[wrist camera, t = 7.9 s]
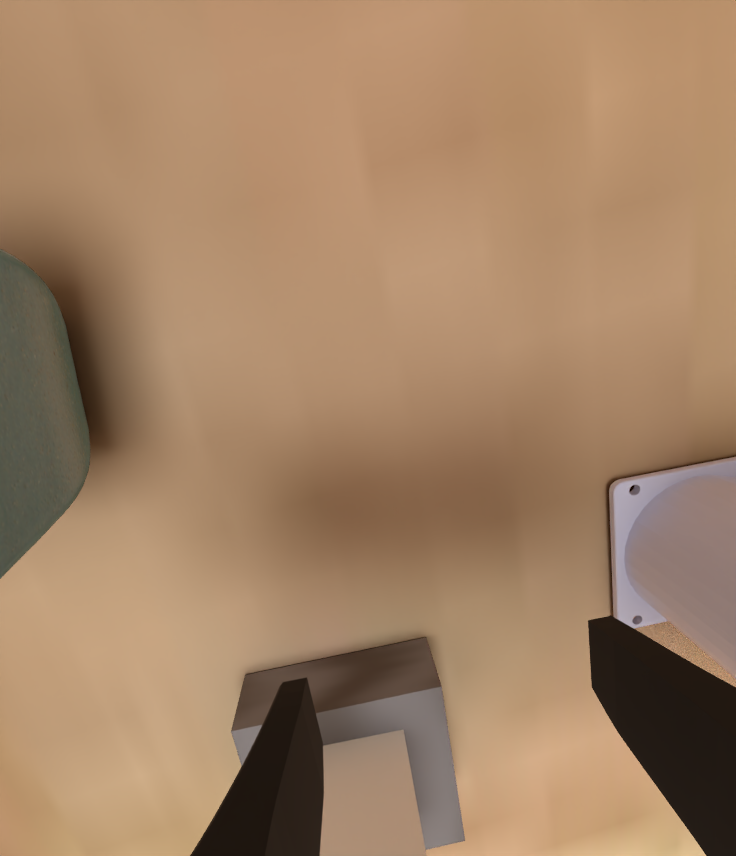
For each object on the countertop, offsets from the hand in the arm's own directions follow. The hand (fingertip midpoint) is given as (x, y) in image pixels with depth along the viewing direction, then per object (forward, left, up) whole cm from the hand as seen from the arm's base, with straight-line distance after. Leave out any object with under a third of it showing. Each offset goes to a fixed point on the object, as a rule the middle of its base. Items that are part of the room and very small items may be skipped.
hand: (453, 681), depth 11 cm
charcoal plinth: (+4, +11, -9) cm, 15 cm away
